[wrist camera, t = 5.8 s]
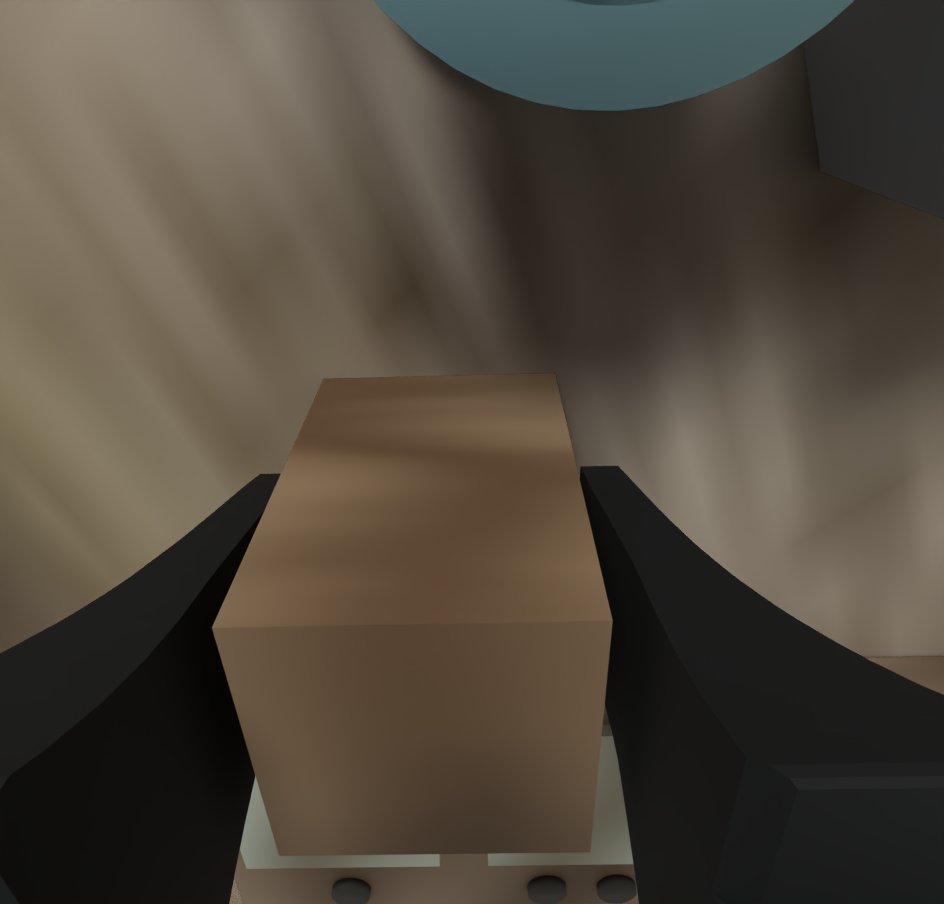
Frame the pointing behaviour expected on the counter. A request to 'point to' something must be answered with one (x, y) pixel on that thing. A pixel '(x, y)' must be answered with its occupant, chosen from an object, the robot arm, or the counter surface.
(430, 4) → the teal spool
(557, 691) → the walnut block
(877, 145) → the charcoal cube
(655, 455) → the counter surface
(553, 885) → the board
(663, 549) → the robot arm
